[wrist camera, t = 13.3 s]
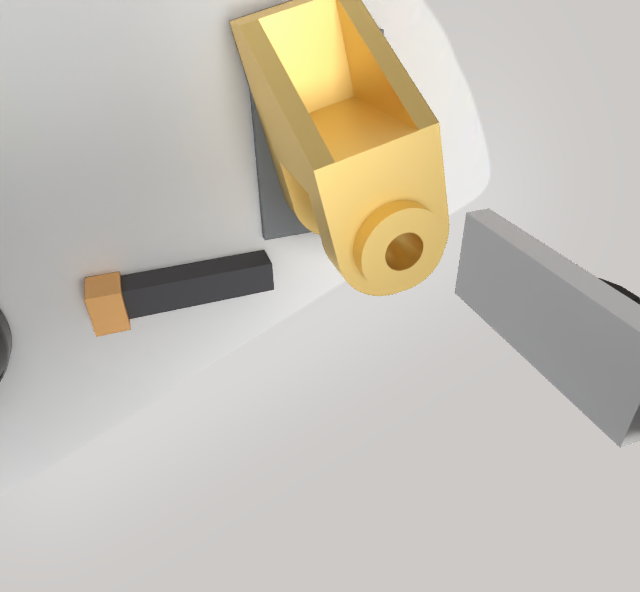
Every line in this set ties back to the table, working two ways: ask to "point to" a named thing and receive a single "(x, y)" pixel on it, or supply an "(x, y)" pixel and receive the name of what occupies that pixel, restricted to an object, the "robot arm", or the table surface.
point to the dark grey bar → (173, 289)
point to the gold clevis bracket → (349, 139)
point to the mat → (272, 189)
